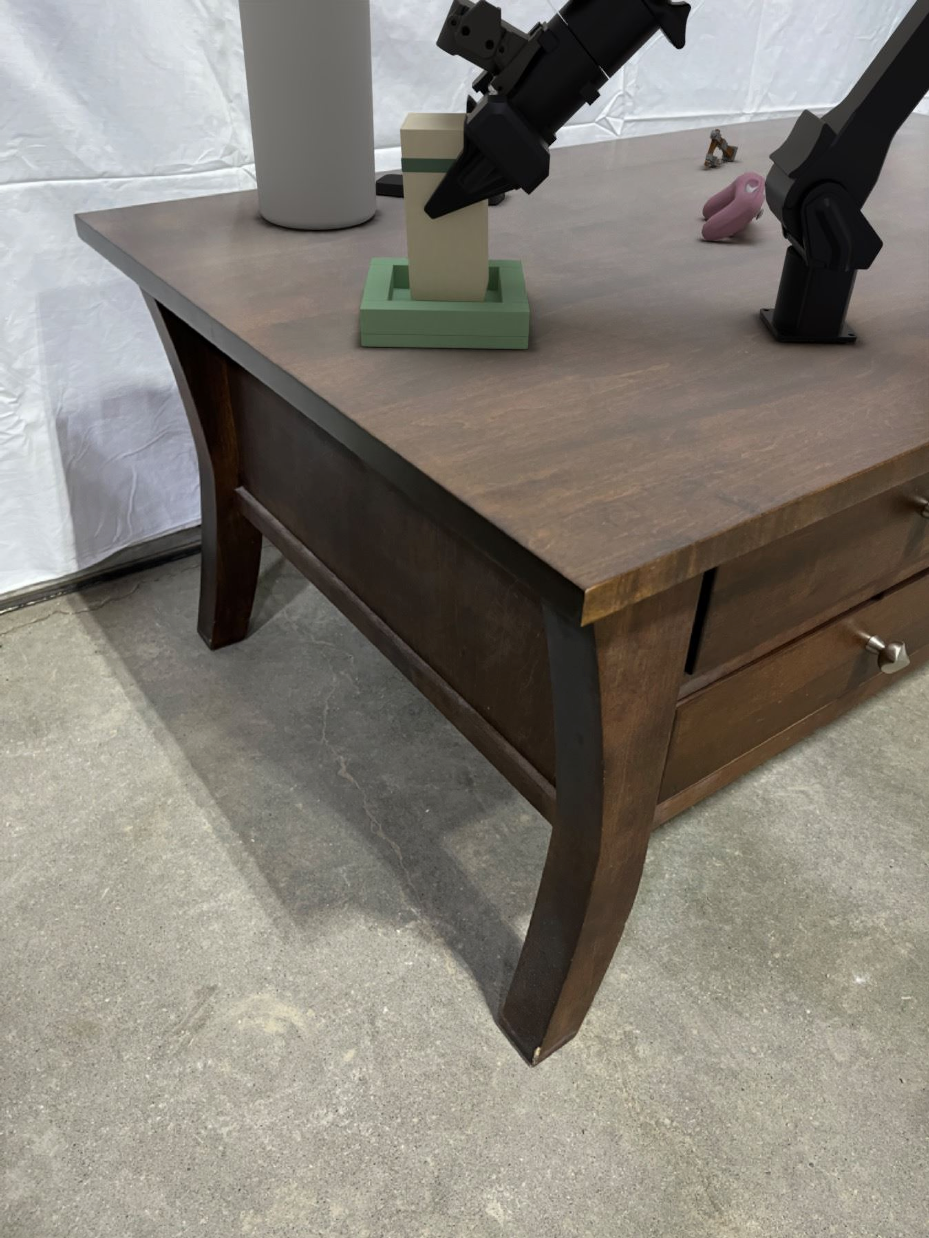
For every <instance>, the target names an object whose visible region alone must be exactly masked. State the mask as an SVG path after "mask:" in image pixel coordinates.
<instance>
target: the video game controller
mask: <svg viewBox="0 0 929 1238" xmlns="http://www.w3.org/2000/svg"><path fill="white" fill-rule="evenodd" d="M765 181H766V178H764V177H763V176H761V175H760V174H759V173H756V172H753V171H752V172H751V171H749V172H748V171H747V170H745V172H743V173H742V174H741V175H738V176H737V177H736V178H735V179H734V181H732V182H731V184H729V185H728V186H725V188H723V189H722V190H721V191H718V192H717V193H716V194H714V195H713V196H711V197H710V198H708V199H707V201H706V202H705V203H704V205H703V207H702V211H701V212H702V216H703V218H705V220H706V221H705V223H703V225H702V228H701V236H702V238H703V239H704V240H705V241H707V242H713V241H720V240H724V239H726V238H728V237H730V236H733V237H737V236H738V235H739V234H740V233H741V231H742V230H743V229H744V228H745V227H747V226H748V225H749V224H750V223H751V222H752V221H753V219H755V221H756V220H759V219H761V217H762V216H763V215H764V211H765V209H764V208H761V207H762V206H763V204H764V202H765V201H766V196H765V193H764V192H765Z"/></svg>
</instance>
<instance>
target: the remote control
mask: <svg viewBox="0 0 929 1238" xmlns="http://www.w3.org/2000/svg"><path fill="white" fill-rule="evenodd" d="M375 185H376V195H384V196H385V195H387V196H397V197H404V186H403V174H398V173H387V174H384V175H383V176H381V177H379V178H378V179H377V180H376V179H375ZM505 197H506V193H503V194H500V195H497V196H494V197H491V198H489V199H488V205H496V204H499V203H500V202H502V200H503V199H504V198H505Z"/></svg>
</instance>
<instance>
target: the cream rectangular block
mask: <svg viewBox="0 0 929 1238" xmlns="http://www.w3.org/2000/svg"><path fill="white" fill-rule="evenodd" d="M470 114H471V113H466V112H408V113H407V115H406V117H405V119H404V121H403V123H402V125H401V126H400V129H399V137H400V138H399V139H400V153H401V157H400V164H401V165H400V166H401V173H402V175H403V186H404V196H403V200H404V216H405V231H406V232H405V233H406V234H405V235H406V246H407V258H408V265H409V281H410V297H411V300H430V301H466V302H484V299H485V295H486V290H487V286H488V282H489V260H490V259H489V204H488V199H486V200H483V201H480V202H478V203H475V204H472V205H470V206H467V207H465V208H462V209H459V210H457V211H454V212H452V213H449V214H447V215H444V216H441V217H439V218H436V219H431V218H430V217H429V216H428V215H427V214H426V213H425V212H424V206H425V205H426V203H427V201H428V200H429V198H430V197H431V195H432V194H433V192H434V191H435V189H436V188H437V186H438V185H439V183H440V182H441V180H442V179H443V177H444V176H445V174H446V173H447V171H448V170H449V169H450V167H451V166H452V164H453V163H454V161H455V160H456V158H457V157H458V155H459V154H460V152H461V151H462V149H463V124H464V117H465V115H467V116H469V115H470Z"/></svg>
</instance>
